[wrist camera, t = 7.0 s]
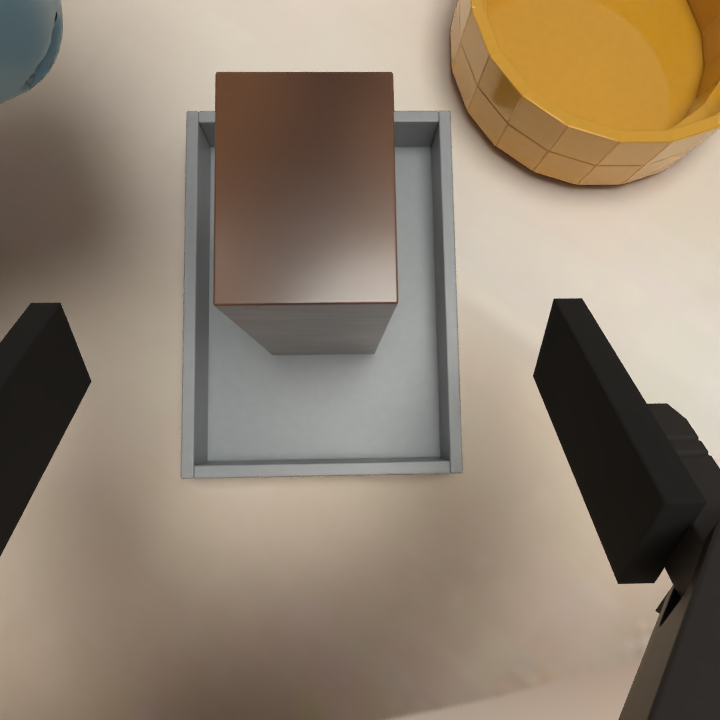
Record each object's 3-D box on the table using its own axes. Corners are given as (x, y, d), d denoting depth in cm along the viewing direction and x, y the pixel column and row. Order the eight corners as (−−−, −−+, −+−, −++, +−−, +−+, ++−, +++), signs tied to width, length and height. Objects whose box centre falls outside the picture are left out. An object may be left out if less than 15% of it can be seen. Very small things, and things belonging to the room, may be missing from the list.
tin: (196, 472, 24) (180, 478, 22) (201, 139, 26) (186, 110, 23) (451, 467, 24) (463, 473, 22) (440, 138, 26) (450, 110, 23)
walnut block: (272, 355, 24) (212, 305, 13) (271, 222, 25) (215, 71, 14) (375, 354, 25) (398, 303, 14) (372, 221, 25) (393, 71, 14)
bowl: (453, 190, 26) (476, 142, 21) (444, -70, 27) (464, -167, 22) (732, 189, 26) (812, 141, 21) (709, -68, 27) (781, -163, 23)
